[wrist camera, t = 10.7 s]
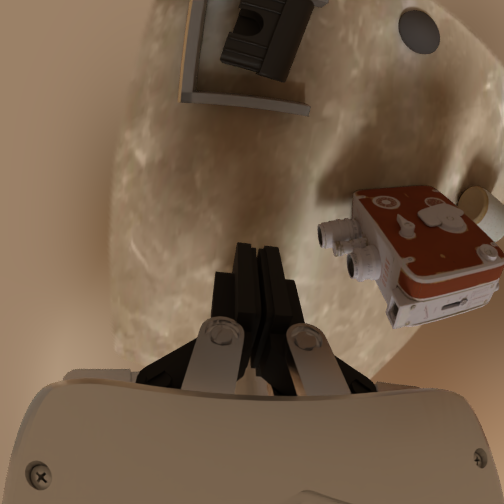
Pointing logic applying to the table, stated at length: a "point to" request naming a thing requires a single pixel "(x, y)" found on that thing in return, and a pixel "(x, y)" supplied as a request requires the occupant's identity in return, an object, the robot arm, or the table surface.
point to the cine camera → (416, 253)
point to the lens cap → (419, 32)
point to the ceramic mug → (484, 211)
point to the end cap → (267, 36)
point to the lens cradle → (220, 98)
